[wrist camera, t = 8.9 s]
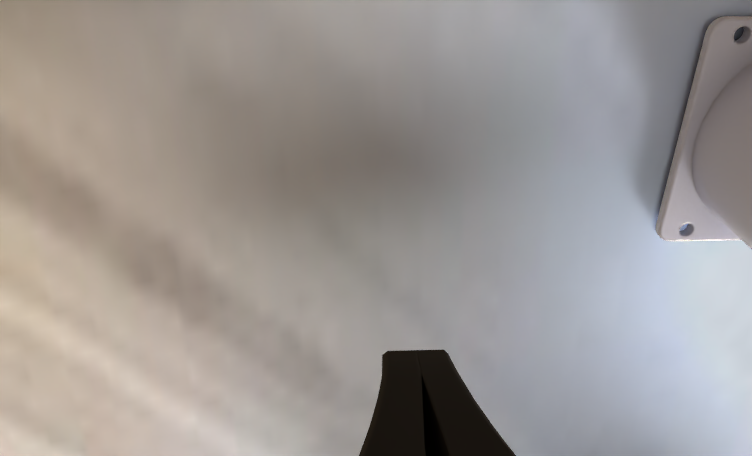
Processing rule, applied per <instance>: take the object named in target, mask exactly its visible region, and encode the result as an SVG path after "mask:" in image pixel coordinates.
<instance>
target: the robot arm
mask: <svg viewBox="0 0 752 456" xmlns="http://www.w3.org/2000/svg"><path fill="white" fill-rule="evenodd" d="M740 27H744V33H743V35H742V36H741V37H740V38H739V39H738V40H734V34H735V32H736V30H738V29H739V28H740ZM688 223H689V225H688V226H687V228H686V229H684V230H682V231H679V230H680V228H681V227H682V226H683V225H684V224H688ZM656 232H657V234H658V235H659V236H660V237H661V238H662V239H663V240H665V241H713V240H742V241H743V242H744V243H745V244H746V245H748V246H749V247H750V248H751V249H752V16H724V17H719V18H717V19H716V20H714V21H713V22H712V23H711V24H710V25H709V26H708V28H707V31H706V33H705V37H704V41H703V45H702V49H701V52H700V56H699V60H698V64H697V68H696V72H695V76H694V80H693V83H692V87H691V91H690V95H689V99H688V103H687V107H686V111H685V114H684V118H683V122H682V126H681V130H680V134H679V138H678V142H677V145H676V149H675V153H674V157H673V161H672V165H671V169H670V172H669V176H668V180H667V184H666V188H665V192H664V196H663V200H662V203H661V207H660V211H659V215H658V219H657V223H656ZM359 456H516V455H515V454H514V452H513V451H512V450H511V449H510V447H509V446H508V445H507V444H506V442H505V441H504V440H503V439H502V437H501V436H500V435H499V433H498V432H497V431H496V429H495V428H494V427H493V425H492V424H491V423H490V421H489V420H488V418H487V417H486V415H485V414H484V413H483V411H482V410H481V408H480V407H479V405H478V404H477V402H476V401H475V399H474V398H473V396H472V395H471V393H470V392H469V390H468V388H467V387H466V385H465V384H464V382H463V380H462V379H461V377H460V375H459V373H458V372H457V370H456V368H455V366H454V364H453V362H452V360H451V359H450V356H449V354H448V353H447V352H446V351H445V350H411V351H387V352H386V353H385V354H383V355H382V379H381V385H380V390H379V395H378V399H377V403H376V406H375V410H374V413H373V417H372V421H371V424H370V427H369V430H368V433H367V435H366V438H365V441H364V444H363V446H362V449H361V452H360V455H359Z"/></svg>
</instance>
